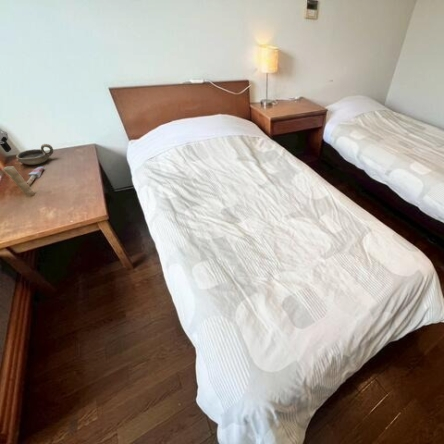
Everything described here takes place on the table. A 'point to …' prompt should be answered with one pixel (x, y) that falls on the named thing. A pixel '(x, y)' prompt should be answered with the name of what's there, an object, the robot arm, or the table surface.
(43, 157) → the bowl
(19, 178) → the stick
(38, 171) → the paintbrush
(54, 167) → the table surface
